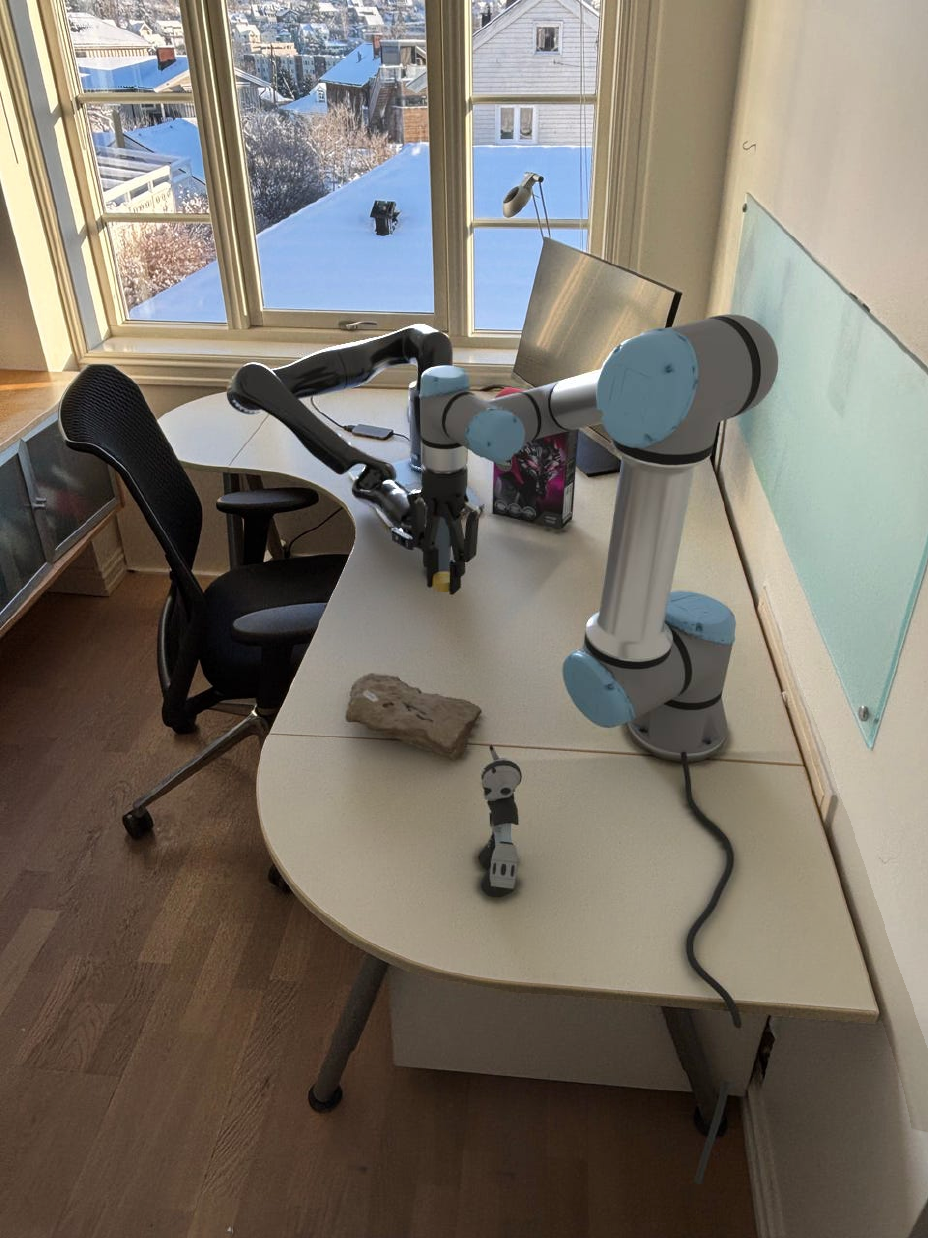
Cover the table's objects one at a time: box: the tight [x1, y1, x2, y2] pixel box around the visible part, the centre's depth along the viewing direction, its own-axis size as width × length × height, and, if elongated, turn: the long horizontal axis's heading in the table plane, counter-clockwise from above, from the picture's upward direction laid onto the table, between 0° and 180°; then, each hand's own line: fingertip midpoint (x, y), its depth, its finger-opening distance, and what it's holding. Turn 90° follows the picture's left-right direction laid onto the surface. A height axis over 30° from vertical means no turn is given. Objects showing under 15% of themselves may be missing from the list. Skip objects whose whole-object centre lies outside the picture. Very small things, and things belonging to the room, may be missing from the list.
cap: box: [432, 571, 450, 593], centre depth 161 cm, size 4×4×2 cm
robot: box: [477, 744, 523, 898], centre depth 114 cm, size 20×5×20 cm, turn 3°
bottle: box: [424, 503, 452, 572], centre depth 176 cm, size 5×5×24 cm
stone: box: [344, 672, 483, 761], centre depth 141 cm, size 21×15×6 cm
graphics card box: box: [491, 386, 580, 531], centre depth 194 cm, size 17×7×27 cm, turn 62°
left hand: (445, 548), depth 177 cm, fingers closed on bottle, 5 cm apart
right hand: (444, 587), depth 161 cm, fingers closed on cap, 4 cm apart
